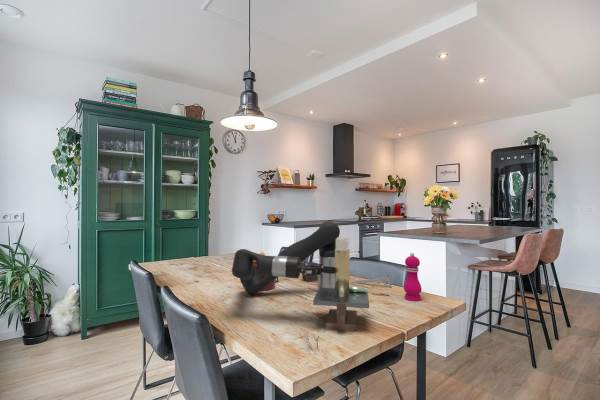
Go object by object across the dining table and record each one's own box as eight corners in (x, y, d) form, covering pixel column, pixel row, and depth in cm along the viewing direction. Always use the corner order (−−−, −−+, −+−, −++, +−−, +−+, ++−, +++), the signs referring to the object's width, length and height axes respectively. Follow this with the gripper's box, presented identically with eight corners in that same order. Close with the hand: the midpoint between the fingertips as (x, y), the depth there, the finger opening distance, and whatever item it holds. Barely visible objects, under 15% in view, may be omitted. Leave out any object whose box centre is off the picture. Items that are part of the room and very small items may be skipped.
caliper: (391, 288, 154) (391, 275, 154) (390, 288, 153) (390, 275, 153) (352, 282, 165) (352, 270, 165) (351, 283, 164) (351, 271, 164)
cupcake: (307, 283, 163) (307, 264, 164) (298, 279, 172) (297, 261, 172) (322, 280, 169) (322, 262, 169) (312, 277, 177) (312, 259, 177)
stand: (324, 332, 100) (324, 302, 100) (330, 311, 120) (330, 287, 120) (356, 334, 98) (356, 304, 99) (356, 313, 118) (356, 288, 118)
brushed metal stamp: (313, 304, 103) (313, 240, 103) (319, 291, 119) (319, 235, 119) (369, 308, 100) (369, 242, 100) (367, 294, 115) (367, 237, 116)
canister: (279, 286, 158) (279, 251, 158) (266, 292, 147) (266, 255, 147) (258, 283, 164) (258, 249, 164) (243, 289, 152) (243, 253, 152)
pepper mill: (401, 296, 139) (400, 251, 139) (417, 296, 139) (416, 251, 139) (408, 301, 131) (407, 254, 132) (424, 301, 132) (424, 253, 132)
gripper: (289, 273, 119) (335, 277, 116) (282, 281, 106) (333, 285, 103) (290, 253, 119) (336, 256, 116) (282, 259, 106) (334, 262, 103)
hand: (334, 270), depth 109 cm, fingers closed
